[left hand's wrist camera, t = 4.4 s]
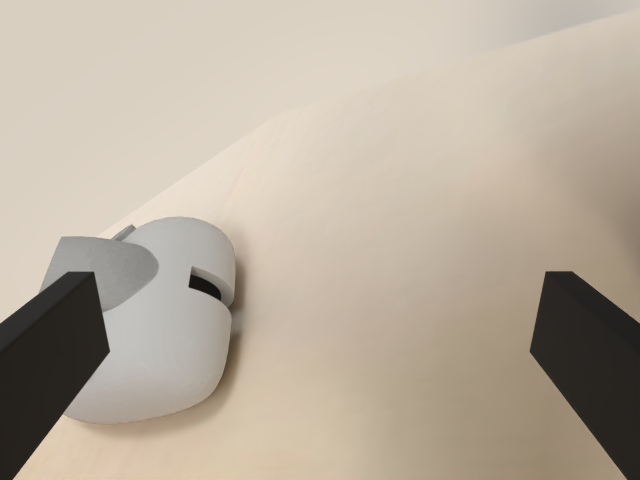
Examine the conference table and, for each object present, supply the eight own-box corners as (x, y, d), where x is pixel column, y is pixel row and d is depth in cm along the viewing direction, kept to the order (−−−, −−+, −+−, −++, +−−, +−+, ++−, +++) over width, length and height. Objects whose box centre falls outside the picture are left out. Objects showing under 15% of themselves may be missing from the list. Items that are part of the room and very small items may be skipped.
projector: (186, 220, 52) (76, 137, 42) (312, 285, 36) (181, 174, 26) (63, 385, 47) (-95, 335, 37) (143, 544, 31) (-97, 533, 21)
